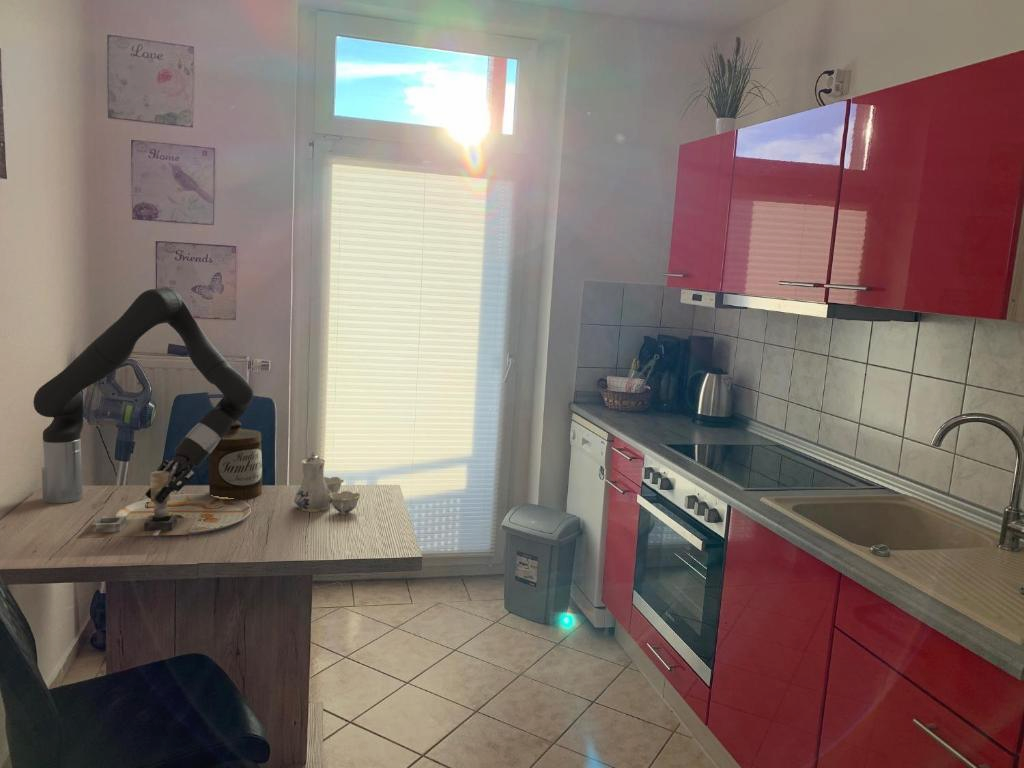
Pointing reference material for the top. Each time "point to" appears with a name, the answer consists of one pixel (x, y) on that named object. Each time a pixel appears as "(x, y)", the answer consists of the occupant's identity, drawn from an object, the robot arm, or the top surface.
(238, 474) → the wooden container
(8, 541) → the top surface
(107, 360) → the robot arm
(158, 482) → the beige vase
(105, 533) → the subfloor board
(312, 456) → the chinaware
